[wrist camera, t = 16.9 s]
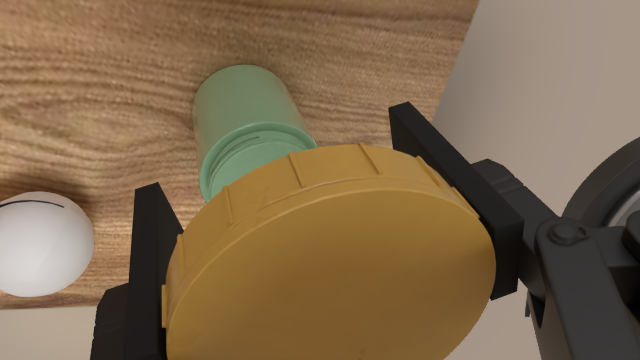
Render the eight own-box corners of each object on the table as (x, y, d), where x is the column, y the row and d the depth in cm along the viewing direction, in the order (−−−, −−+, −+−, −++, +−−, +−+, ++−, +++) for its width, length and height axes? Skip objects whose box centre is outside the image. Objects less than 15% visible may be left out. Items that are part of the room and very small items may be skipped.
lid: (130, 171, 9) (124, 229, 8) (488, 121, 11) (536, 161, 10) (192, 394, 14) (195, 455, 13) (436, 333, 16) (463, 380, 14)
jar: (304, 76, 35) (349, 146, 27) (277, 161, 39) (308, 246, 30) (202, 53, 32) (216, 124, 24) (183, 147, 36) (189, 237, 27)
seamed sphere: (103, 175, 35) (92, 239, 29) (96, 250, 39) (85, 320, 33) (-60, 159, 31) (-110, 230, 25) (-51, 243, 35) (-93, 321, 29)
